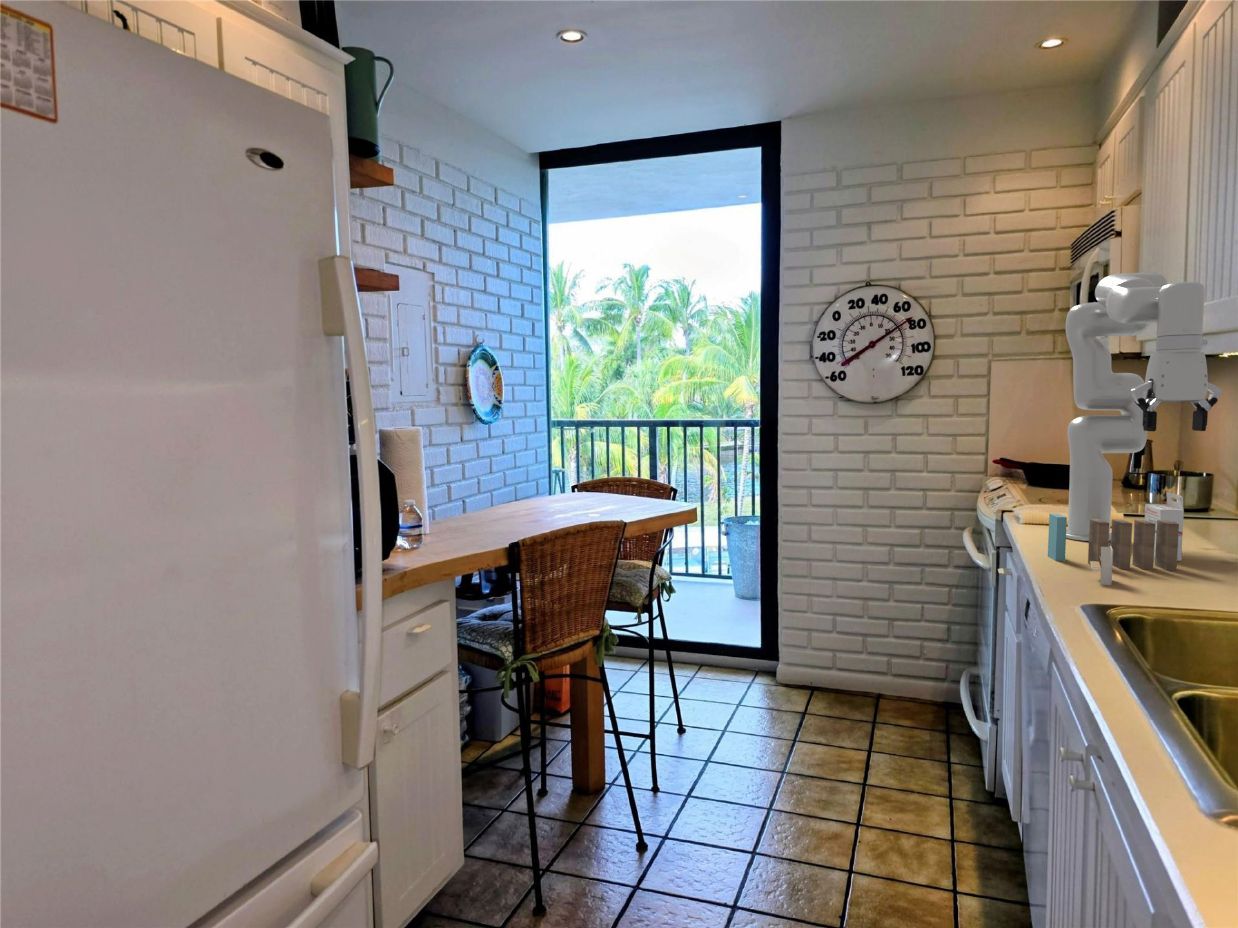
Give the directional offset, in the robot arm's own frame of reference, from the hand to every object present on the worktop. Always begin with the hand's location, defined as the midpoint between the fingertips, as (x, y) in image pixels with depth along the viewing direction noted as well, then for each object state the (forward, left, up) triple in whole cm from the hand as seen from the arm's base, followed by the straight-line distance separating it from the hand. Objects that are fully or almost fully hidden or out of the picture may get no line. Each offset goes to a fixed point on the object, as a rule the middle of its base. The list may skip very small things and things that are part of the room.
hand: (1174, 430), depth 162 cm
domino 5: (-9, +4, -30) cm, 32 cm away
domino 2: (-9, -10, -30) cm, 33 cm away
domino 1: (-16, -16, -30) cm, 37 cm away
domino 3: (-9, -5, -30) cm, 32 cm away
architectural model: (+6, -14, -31) cm, 34 cm away
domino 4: (-9, -1, -30) cm, 31 cm away
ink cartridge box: (-21, +8, -30) cm, 38 cm away
